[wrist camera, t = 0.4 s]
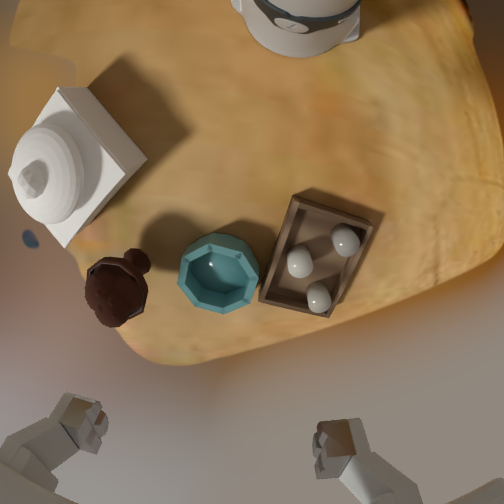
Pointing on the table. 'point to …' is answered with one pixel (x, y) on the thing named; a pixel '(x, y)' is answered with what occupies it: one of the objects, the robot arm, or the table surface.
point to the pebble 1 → (299, 261)
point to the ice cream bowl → (118, 287)
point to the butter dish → (72, 162)
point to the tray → (322, 254)
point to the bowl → (218, 273)
